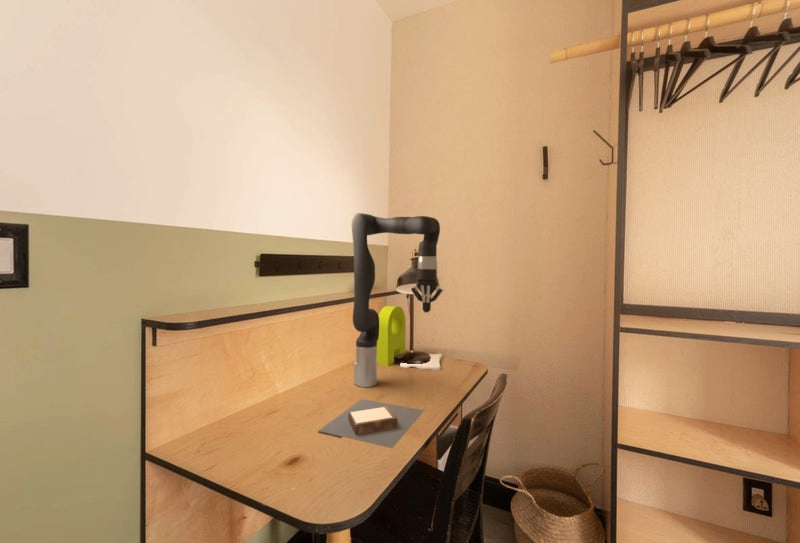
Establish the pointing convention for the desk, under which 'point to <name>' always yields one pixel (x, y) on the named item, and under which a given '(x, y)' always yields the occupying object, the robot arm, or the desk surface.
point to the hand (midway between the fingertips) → (426, 312)
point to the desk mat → (381, 437)
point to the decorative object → (390, 334)
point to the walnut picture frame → (372, 420)
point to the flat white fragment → (431, 364)
